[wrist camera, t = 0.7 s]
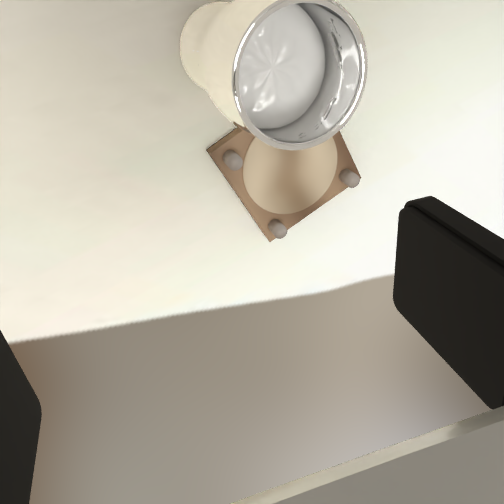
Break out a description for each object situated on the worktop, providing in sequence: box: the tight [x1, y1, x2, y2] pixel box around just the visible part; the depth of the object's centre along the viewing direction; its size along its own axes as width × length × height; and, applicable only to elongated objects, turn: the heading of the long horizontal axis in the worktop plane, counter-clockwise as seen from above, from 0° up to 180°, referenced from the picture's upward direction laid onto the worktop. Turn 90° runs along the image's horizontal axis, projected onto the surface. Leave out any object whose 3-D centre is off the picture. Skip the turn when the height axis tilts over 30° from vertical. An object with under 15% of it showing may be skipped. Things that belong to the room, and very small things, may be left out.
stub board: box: [207, 127, 361, 242], centre depth 37 cm, size 10×10×3 cm
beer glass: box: [180, 0, 367, 150], centre depth 26 cm, size 7×7×15 cm
